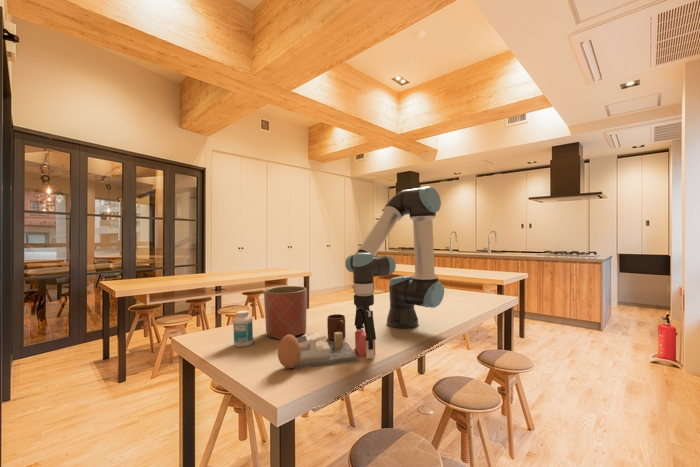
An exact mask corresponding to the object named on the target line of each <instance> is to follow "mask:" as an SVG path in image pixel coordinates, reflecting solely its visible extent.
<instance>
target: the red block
mask: <svg viewBox="0 0 700 467" xmlns="http://www.w3.org/2000/svg"><path fill="white" fill-rule="evenodd" d="M370 337H371V336H370ZM366 338H367V337H366V332H365V330H363V331H358V332H356V331H354V344H355V345H354V349H355V350H354V351H356V352H355V353H356V354H358V356H361V357H362V356H366V341H365V339H366ZM374 355H376V340H374Z"/></svg>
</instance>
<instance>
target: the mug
mask: <svg viewBox="0 0 700 467" xmlns="http://www.w3.org/2000/svg"><path fill="white" fill-rule="evenodd" d="M326 319H327V325H326V326H327V339H328V340H329V341H332V342H334V332H342V333H343V340H345V339H346V317H345V315H344V314H340V313H338V314H335V313H334V314H329V315H328V316H327V318H326Z"/></svg>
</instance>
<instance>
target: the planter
mask: <svg viewBox="0 0 700 467" xmlns="http://www.w3.org/2000/svg"><path fill="white" fill-rule="evenodd" d="M307 289H308V288H306V287H305V286H297V285H293V286H292V285H288V286H287V285H286V286H285V285H284V286H275V287H270V288H265V290H263V300H264V301H263V302H264V318H265V320H264V321H265V334H266V335H267V336H268V337H271V338H274V339H277V340H280V341H281V340H282V338H283V337H284V336H286V335H293V336H295V337H296V336H299V335H301V334H307V333H306V332H307V310H308V309H307V303H308V301H307V296H308V295H307V294H308V293H307Z"/></svg>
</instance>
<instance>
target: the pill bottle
mask: <svg viewBox="0 0 700 467" xmlns="http://www.w3.org/2000/svg"><path fill="white" fill-rule="evenodd" d="M232 323H233V326H232V327H233V345H234V346H235V347H237V348H242V347H243V348H244V347H248V346H250V345H252V344H253V343H254V336H253V335H254V334H253V333H254V331H253V329H254V328H253V318H252V316H250V315H249V310H247V309H245V310H239V311H236V316H235V317H234V319H233V321H232Z"/></svg>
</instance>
